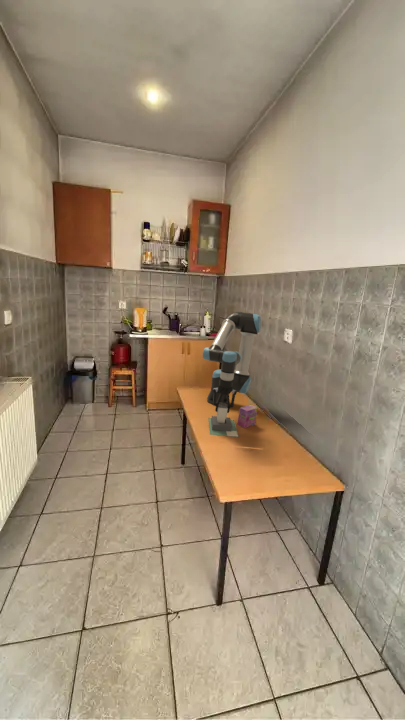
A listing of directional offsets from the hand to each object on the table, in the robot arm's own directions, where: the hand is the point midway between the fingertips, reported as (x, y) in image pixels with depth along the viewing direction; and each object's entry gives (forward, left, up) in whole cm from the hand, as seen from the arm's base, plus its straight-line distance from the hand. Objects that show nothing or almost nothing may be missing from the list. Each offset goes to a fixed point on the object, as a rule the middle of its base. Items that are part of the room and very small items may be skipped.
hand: (221, 417), depth 172 cm
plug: (0, 0, -4) cm, 4 cm away
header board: (+1, +1, -7) cm, 7 cm away
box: (-6, +16, -7) cm, 19 cm away
